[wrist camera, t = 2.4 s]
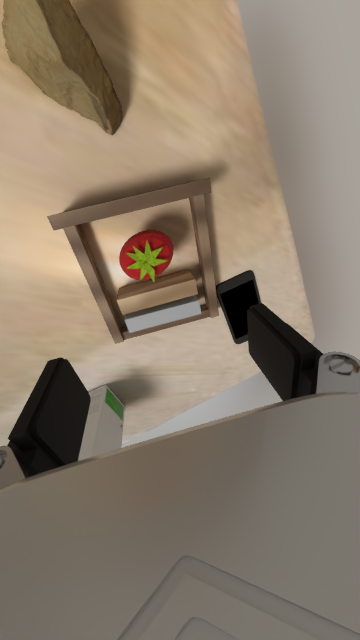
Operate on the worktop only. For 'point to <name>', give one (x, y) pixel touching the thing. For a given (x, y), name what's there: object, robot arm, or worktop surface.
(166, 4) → the worktop surface
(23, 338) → the worktop surface
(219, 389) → the worktop surface
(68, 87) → the rock
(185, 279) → the inner offcut board
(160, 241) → the strawberry
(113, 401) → the skincare box
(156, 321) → the outer offcut board
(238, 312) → the smartphone
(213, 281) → the rack
